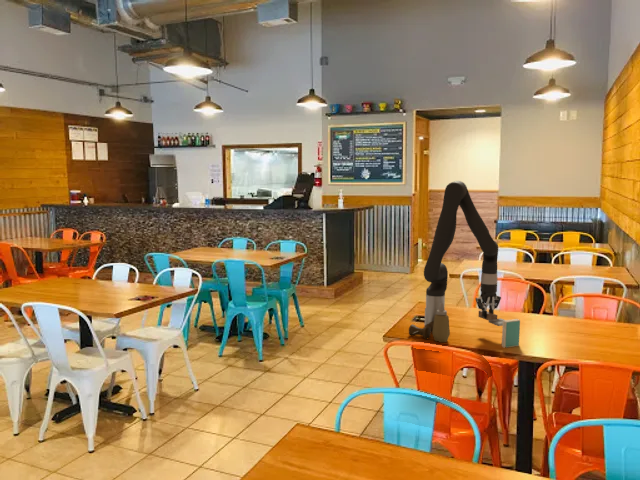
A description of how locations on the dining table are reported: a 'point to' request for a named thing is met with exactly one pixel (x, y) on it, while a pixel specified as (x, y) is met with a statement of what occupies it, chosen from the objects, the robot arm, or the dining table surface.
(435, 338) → the squeeze bottle
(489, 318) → the dark piece
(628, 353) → the dining table surface
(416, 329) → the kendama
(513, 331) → the ceramic tile
